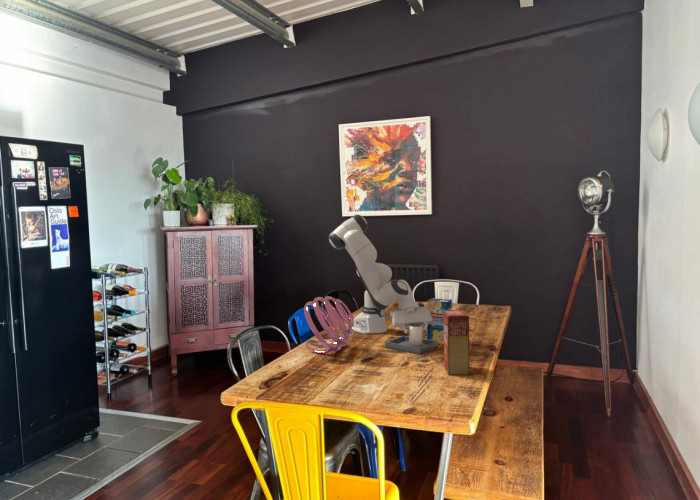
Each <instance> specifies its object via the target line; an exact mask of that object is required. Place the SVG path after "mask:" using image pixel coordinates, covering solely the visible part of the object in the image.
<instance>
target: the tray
mask: <svg viewBox="0 0 700 500" xmlns="http://www.w3.org/2000/svg"><path fill="white" fill-rule="evenodd" d="M384 347H385V349H390V350H394V351H398V352H399V351H400V352H404V353H410V354H415V355H422V354H424V353H426V352H430V351H431V350H435V349H436V348H438V347H437V341H431V340H427V339H424V338H422V347H420V348H417V347H412V346H409V335H408V336H407V335H401V336H398V337H396V338H393V339H392V338H391V339H389V340H387V341H385V342H384Z"/></svg>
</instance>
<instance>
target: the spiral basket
mask: <svg viewBox="0 0 700 500" xmlns="http://www.w3.org/2000/svg"><path fill="white" fill-rule="evenodd" d="M330 300H331V301H332V302H333V303H334V305H335V307H336V308H335V307H334V306H333V305H332V303H331V302H330ZM319 302H322V303H323V304H324V307H325V309H324V308H323V307H321V306H320V305H319ZM309 306H311V307H313V310H314V313H315V317H316V318H317V320H318V322H319V323H320V326H321V327H322V328H323V331H325V333H326V334H327V335H328V336H329V338H330V339H332V341H333V342H330V343H329V342H327V340H325V338H324V337H323V336H322V335H321V333H320V332H319V330H318V329H317V327H316V325H315V323H314V322H313V320H312V317H311V314H310V311H309ZM303 311H304V312H303V313H304V316H305V319H306V322H307V325H308V326H309V328H310V330H311V331H312V333H313V335H314V336H315V338H316V339H317V340H318V341H319V343H320V344H316V343H312V342H309V341H307V342H306V343H305V347H306V348H307V349H308V350H309V351H311V352H313V353H316V354H320V355H321V354H330V353H337V352H339V351H341V350H342V348H343V347H345V346H346V345H348V343H349V342H350V337H352V336H353V335H354V331H353V326H354V316H353V314H352V312H351V311H350V309H349V308H348V306H347V305H346V304H345V303H344V302H343V300H341V299H338V298H334V297H332V296H328V295H327V296H324V297H323V296H318V297H315V298H314V299H313V301H308V302H306V303H305V305H304V307H303ZM347 312H348V313H347ZM346 324H347V325H348V326H347V325H346ZM338 330H339V331H338ZM339 332H340V333H342V334H343V336H342V337H341V335H340V333H339ZM310 346H312V347H317V348H325V349H326V350H325V351H324V350H323V351H320V350H319V351H318V350H316V349H312V347H310Z"/></svg>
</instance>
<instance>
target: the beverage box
mask: <svg viewBox="0 0 700 500" xmlns="http://www.w3.org/2000/svg"><path fill="white" fill-rule="evenodd" d="M426 303H427V304H426V309H428V310H429V312H430V314H431V317H432V322H431V323H430V324H429V325H427V326H426V329H427V331H426V333H427V339H426V340H431V341H437V344H438V345H444V313H443V311H444V310H453V306H452V305H453V300H452V299H448V298H447V299H446V298H435V297H433V298H430V299H428V300H427V301H426Z"/></svg>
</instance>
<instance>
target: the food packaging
mask: <svg viewBox="0 0 700 500" xmlns="http://www.w3.org/2000/svg"><path fill="white" fill-rule="evenodd" d="M443 313H444V344H443V356H444V357H443V367H444V369H445V370H444V371H446V374H447V376H470V316H469V315H468V314H467V313H466V312H465V310H463V309H452V310H444V311H443Z"/></svg>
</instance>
